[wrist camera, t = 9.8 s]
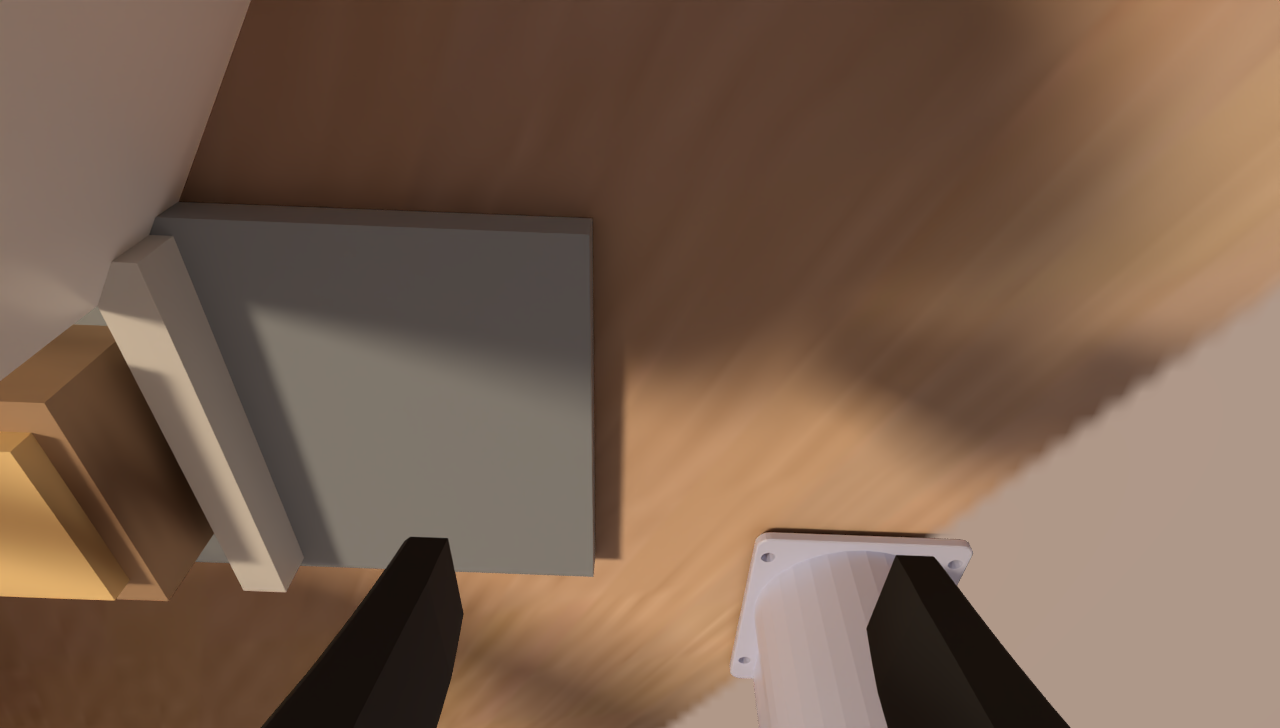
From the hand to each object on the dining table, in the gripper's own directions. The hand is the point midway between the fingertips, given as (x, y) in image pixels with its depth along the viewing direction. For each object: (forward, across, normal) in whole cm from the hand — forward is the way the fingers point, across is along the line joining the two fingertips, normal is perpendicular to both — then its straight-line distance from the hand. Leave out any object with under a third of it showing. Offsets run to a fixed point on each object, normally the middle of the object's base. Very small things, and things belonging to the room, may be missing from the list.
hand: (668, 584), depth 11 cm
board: (+10, +12, +5) cm, 17 cm away
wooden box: (+9, +18, +5) cm, 20 cm away
